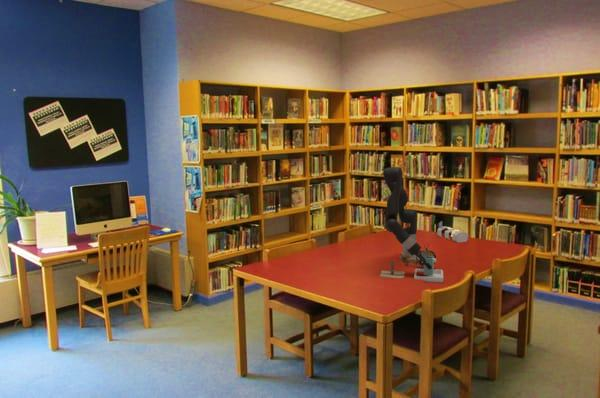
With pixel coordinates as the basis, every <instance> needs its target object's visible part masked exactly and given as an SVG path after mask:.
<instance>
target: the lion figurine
mask: <svg viewBox="0 0 600 398" xmlns="http://www.w3.org/2000/svg"><path fill="white" fill-rule="evenodd" d="M416 258H417V257H416ZM416 258H410V257H409V256H408V255H406V254H404V253H403V252H401V253H400V254H399V260H400V261H401V262H402V263H404V264H405V266H406V267H408V266H409V265H410V264H411V265H412V264H413V265H414V266H415V267H416V269H419V268H421V265H420V264H419V262H418V260H416Z"/></svg>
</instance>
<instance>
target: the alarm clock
mask: <svg viewBox="0 0 600 398" xmlns="http://www.w3.org/2000/svg"><path fill="white" fill-rule="evenodd" d="M426 245H427V247H426ZM423 246H424V247H423V248H425V249H424V250H422V251H424V252H425V253H426V254H427V255H428V256H432V257H434V258H435V259H436V260H437V255H436V253H435V252H434V251H432V250H430V249H428V248H429V246H430V245H429V243H425V244H424V245H423ZM418 262H419V261H418ZM423 262H424V261H423ZM435 264H436V262H434V265H435ZM419 266H420V267H422V268H421V269H424V265H422V264H421V263H420V262H419Z"/></svg>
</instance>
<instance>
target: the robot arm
mask: <svg viewBox="0 0 600 398" xmlns="http://www.w3.org/2000/svg"><path fill="white" fill-rule="evenodd" d="M403 174H404V173H403V169H402V168H401V166H396V167H395V166H393V167H386V168H384V169H383V173H382V176H383V180H384V182H385V184H386V186H387V187H388V189H389V191H390V195H389V197H388V199H387V202H386V218H385V230H386V231H387V232H389V233H392V234H393V235H394V236H395V239H396V240H397V241H398V243H400V244H401V245H402V253H404V254H406V255H408V256H409V257H410V258H416V260H418V261H419V262H420V263H421V264H422V265H425V266H426V267H427V268H428V269H429V270H430V269H432V266H431V265H430V264H429V263H428V262H427V261H426V259H425V256H426V257H427V256H428V255H427V254H426V253H425V252H424V251H423V250H422V246H421V245H420V244H419V243H418V242H417V232H418V231H417V229H418V228H417V227H418V225H417V224H418V212H417V210H415V209H406V208H405V207H406V206H407V204H408V202H409V196H408V193H407V190H406V189H405V188H404V187H403V185H402V184H403V179H404V177H403V176H404V175H403ZM398 215H399V220H400V221H401V223H404V224H410V226H408V227H404V228H403V226H402V225H401V223H400V222H399V221H398ZM423 261H424V262H423Z"/></svg>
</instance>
